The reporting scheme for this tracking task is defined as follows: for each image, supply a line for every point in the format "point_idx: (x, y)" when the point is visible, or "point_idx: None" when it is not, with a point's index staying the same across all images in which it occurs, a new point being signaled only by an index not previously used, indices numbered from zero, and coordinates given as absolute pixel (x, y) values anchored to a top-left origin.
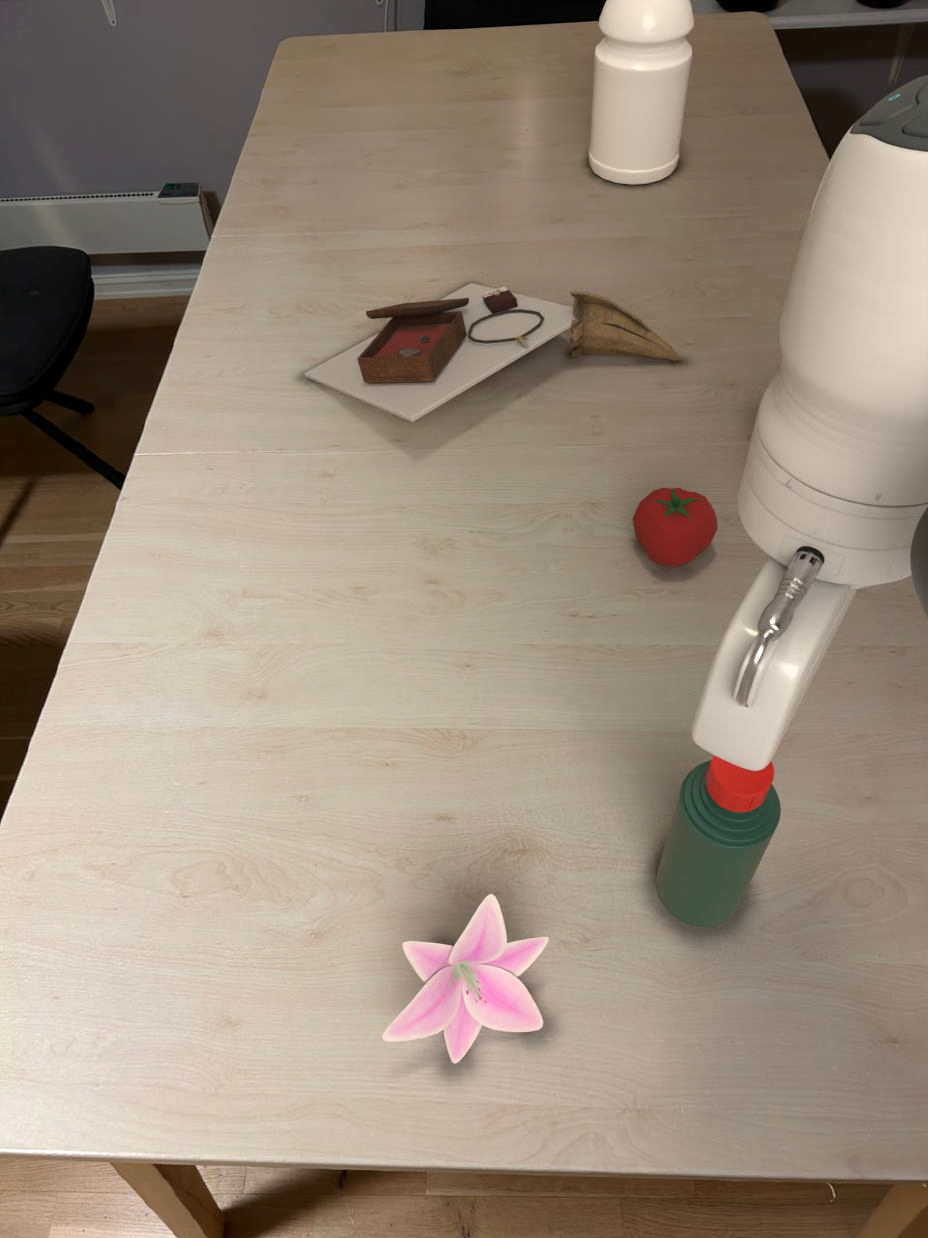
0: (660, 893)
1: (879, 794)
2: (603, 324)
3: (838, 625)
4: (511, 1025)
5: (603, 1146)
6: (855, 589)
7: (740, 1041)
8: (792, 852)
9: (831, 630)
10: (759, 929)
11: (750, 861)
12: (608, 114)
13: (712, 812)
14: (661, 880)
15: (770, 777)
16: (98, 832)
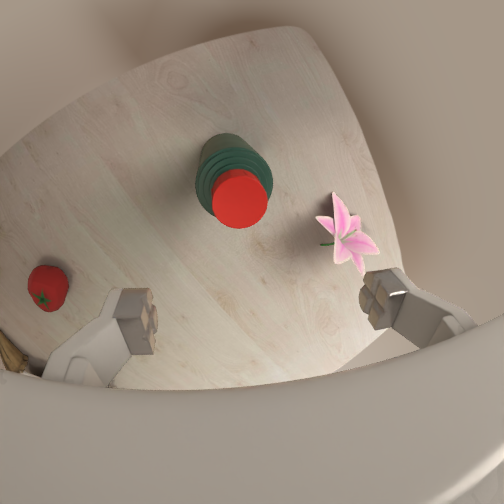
0: None
1: (111, 101)
2: (11, 361)
3: (350, 412)
4: (342, 205)
5: (362, 147)
6: (249, 471)
7: (294, 106)
8: (175, 122)
9: (502, 458)
10: (231, 118)
11: (251, 148)
12: None
13: None
14: None
15: (236, 179)
16: (328, 357)
